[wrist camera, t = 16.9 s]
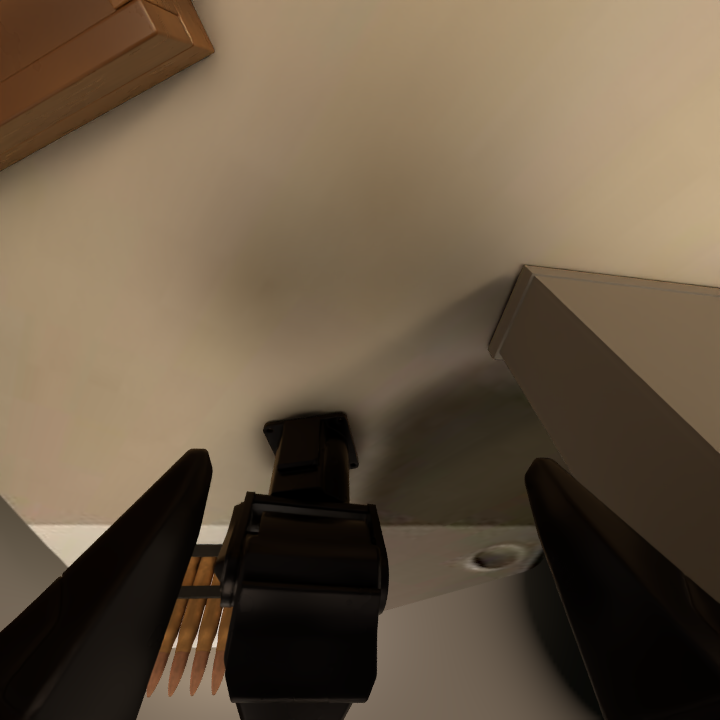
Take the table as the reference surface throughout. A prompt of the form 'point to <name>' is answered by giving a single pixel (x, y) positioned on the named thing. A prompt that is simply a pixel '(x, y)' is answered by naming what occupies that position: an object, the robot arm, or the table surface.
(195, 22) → the wooden tray
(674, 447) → the labelled white carton
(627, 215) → the table surface
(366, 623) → the robot arm
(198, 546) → the ammunition clip
